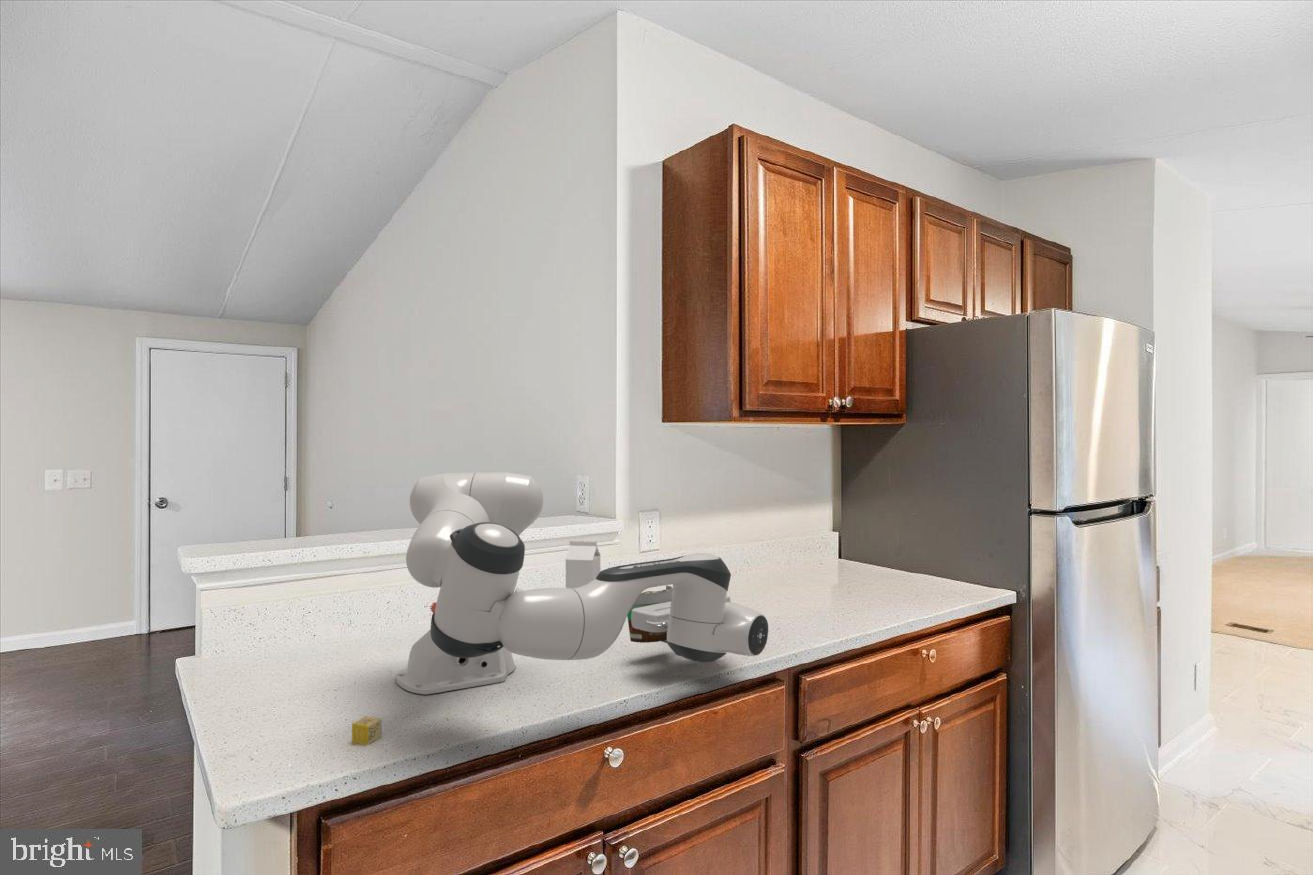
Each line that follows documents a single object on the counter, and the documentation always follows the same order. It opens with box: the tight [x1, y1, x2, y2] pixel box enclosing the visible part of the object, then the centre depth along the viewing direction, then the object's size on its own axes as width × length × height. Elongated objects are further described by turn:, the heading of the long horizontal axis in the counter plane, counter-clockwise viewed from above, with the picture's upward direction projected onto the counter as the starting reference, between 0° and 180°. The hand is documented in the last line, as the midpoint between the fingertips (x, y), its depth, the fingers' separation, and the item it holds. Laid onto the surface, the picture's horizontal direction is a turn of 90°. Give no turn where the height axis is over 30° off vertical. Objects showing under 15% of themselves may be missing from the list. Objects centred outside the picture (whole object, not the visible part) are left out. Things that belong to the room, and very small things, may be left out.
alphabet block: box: [351, 715, 382, 746], centre depth 114 cm, size 3×3×3 cm
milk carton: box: [565, 540, 601, 588], centre depth 189 cm, size 7×7×19 cm
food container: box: [626, 585, 673, 644], centre depth 153 cm, size 12×6×10 cm, turn 130°
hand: (653, 605), depth 154 cm, fingers closed, pressing on food container
